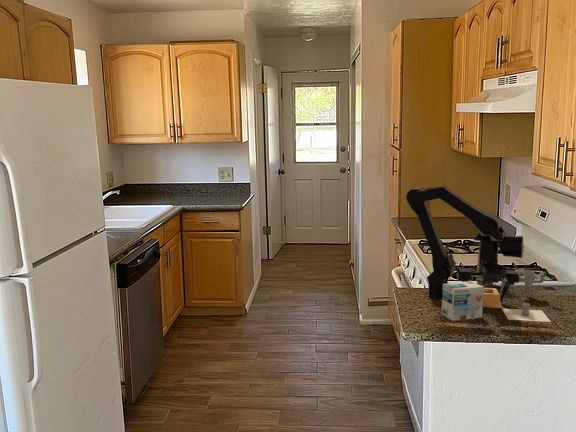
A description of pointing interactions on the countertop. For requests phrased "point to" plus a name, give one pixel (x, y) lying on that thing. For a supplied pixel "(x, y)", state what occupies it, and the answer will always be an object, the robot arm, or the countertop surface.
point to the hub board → (527, 318)
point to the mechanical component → (530, 279)
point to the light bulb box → (462, 300)
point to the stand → (492, 306)
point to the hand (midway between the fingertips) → (485, 300)
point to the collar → (491, 297)
